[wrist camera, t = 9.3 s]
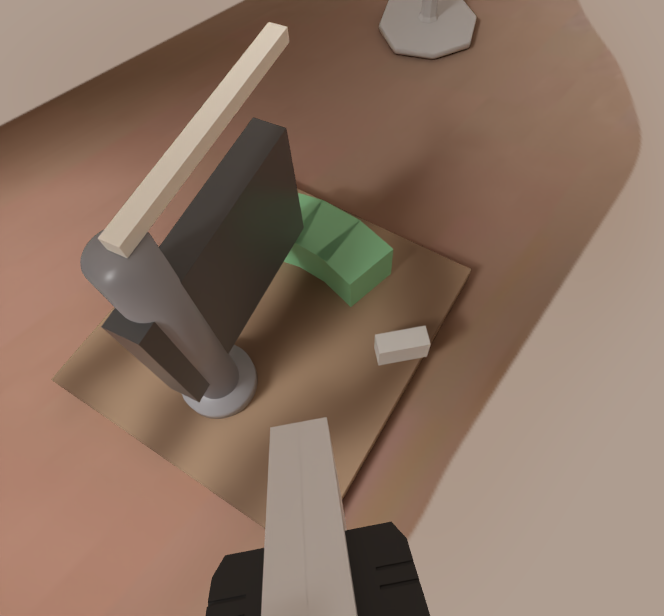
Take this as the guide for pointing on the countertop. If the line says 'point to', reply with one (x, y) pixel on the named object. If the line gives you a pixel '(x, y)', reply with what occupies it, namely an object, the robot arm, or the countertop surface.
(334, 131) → the countertop surface
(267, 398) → the brown square base board
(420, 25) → the wineglass
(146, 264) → the signpost stand
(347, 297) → the gauge marks
